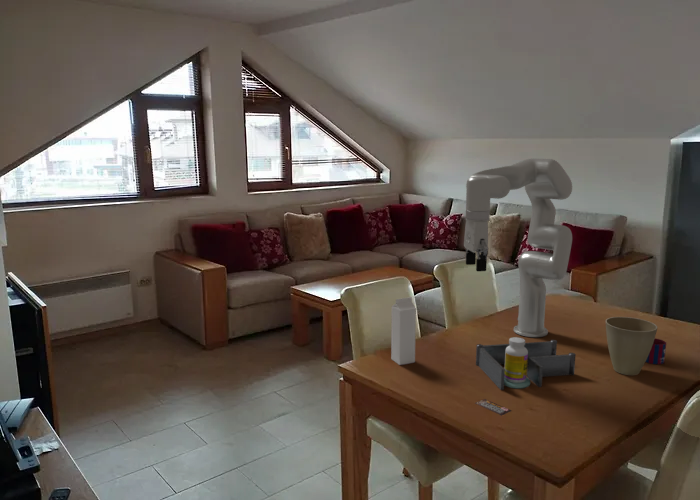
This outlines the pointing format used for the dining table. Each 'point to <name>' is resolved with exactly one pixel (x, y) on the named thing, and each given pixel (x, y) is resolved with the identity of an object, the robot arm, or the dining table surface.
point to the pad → (517, 384)
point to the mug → (657, 352)
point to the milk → (403, 331)
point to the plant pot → (629, 343)
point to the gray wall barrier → (539, 361)
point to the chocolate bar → (493, 407)
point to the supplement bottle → (516, 361)
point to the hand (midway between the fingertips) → (475, 267)
